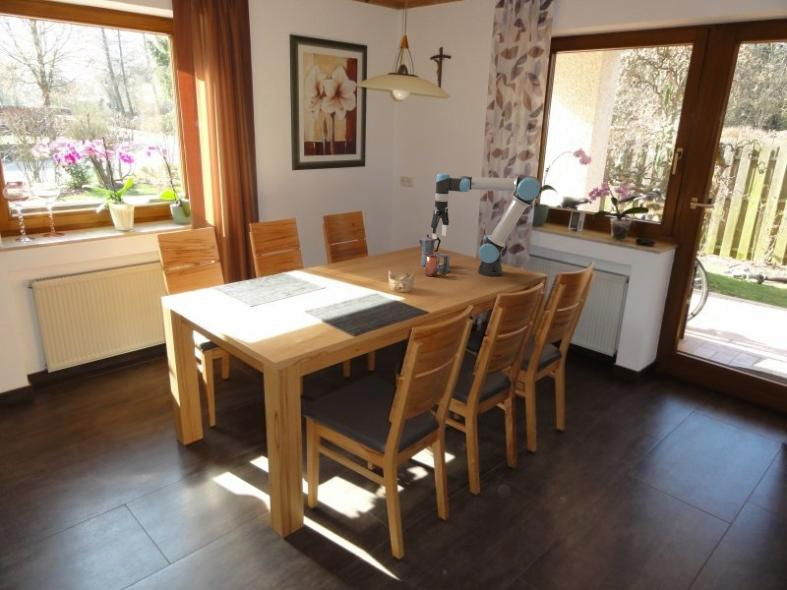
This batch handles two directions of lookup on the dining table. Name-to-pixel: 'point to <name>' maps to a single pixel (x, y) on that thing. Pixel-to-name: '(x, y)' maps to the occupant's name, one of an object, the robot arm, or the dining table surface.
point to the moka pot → (427, 248)
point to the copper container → (432, 265)
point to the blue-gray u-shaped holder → (446, 263)
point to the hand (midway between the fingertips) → (439, 237)
